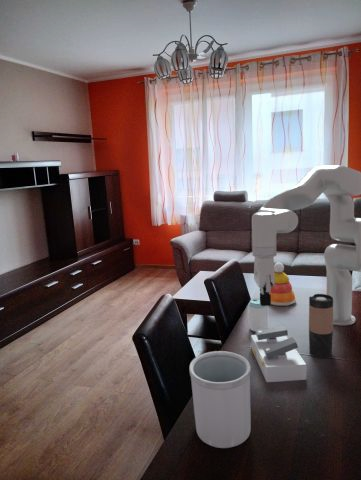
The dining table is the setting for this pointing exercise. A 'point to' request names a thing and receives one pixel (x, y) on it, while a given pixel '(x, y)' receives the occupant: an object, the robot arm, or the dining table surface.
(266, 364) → the switch housing
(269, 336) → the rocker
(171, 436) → the dining table surface
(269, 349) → the block
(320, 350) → the travel mug
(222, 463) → the dining table surface
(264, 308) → the can
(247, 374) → the utensil holder
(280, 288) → the stacking toy
